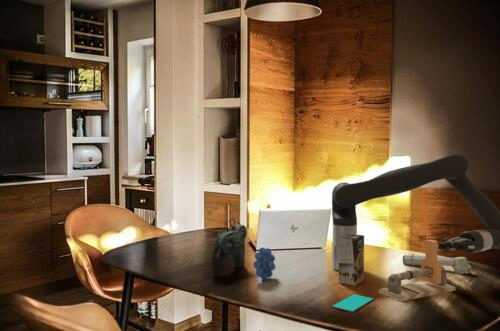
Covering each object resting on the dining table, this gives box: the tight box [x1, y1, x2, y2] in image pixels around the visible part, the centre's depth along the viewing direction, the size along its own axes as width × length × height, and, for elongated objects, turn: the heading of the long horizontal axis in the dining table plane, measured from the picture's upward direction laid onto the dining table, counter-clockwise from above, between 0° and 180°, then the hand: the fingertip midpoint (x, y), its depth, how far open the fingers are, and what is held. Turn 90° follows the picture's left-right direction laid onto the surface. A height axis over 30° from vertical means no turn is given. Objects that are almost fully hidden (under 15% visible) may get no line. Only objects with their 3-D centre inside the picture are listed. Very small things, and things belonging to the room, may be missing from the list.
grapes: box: [252, 247, 276, 281], centre depth 179 cm, size 12×7×12 cm, turn 141°
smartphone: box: [330, 293, 375, 314], centre depth 154 cm, size 7×1×15 cm
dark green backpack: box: [211, 218, 248, 277], centre depth 191 cm, size 20×6×20 cm, turn 150°
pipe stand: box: [378, 266, 457, 302], centre depth 165 cm, size 24×10×7 cm, turn 117°
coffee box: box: [338, 234, 365, 286], centre depth 177 cm, size 9×6×16 cm
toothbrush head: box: [402, 254, 472, 275], centre depth 194 cm, size 5×7×25 cm
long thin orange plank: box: [420, 239, 441, 284], centre depth 168 cm, size 2×7×14 cm, turn 27°
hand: (440, 246), depth 169 cm, fingers closed
